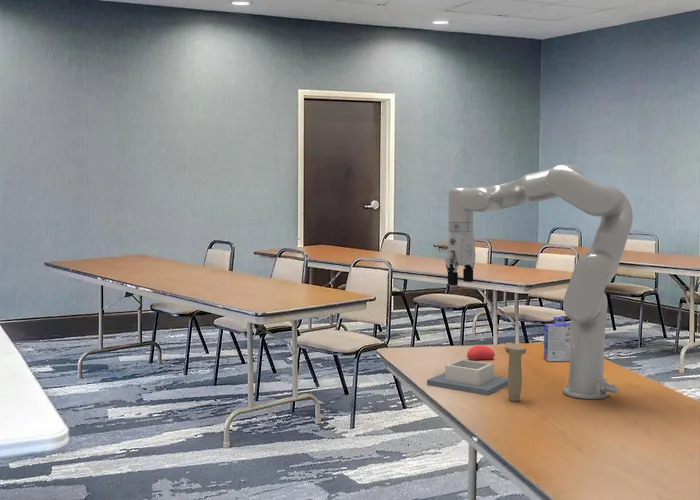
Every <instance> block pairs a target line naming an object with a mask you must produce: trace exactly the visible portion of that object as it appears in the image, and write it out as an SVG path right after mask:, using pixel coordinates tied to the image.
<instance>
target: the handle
mask: <svg viewBox="0 0 700 500" xmlns="http://www.w3.org/2000/svg"><path fill="white" fill-rule="evenodd" d="M504 351H505V352H506V354H508V370H507V378H508V380H507V381H508V382H507V386H506V387H507V393H508V400H509V401H512V402H518V401H519V402H520V399H521V394H522V385H523V383H522V382H523V376H522V375H523V374H522V371H523V370H522V356H523V355H525V354H526V352H527V348H526V347H525V346H523V345H518V344H507V345H505V346H504Z"/></svg>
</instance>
